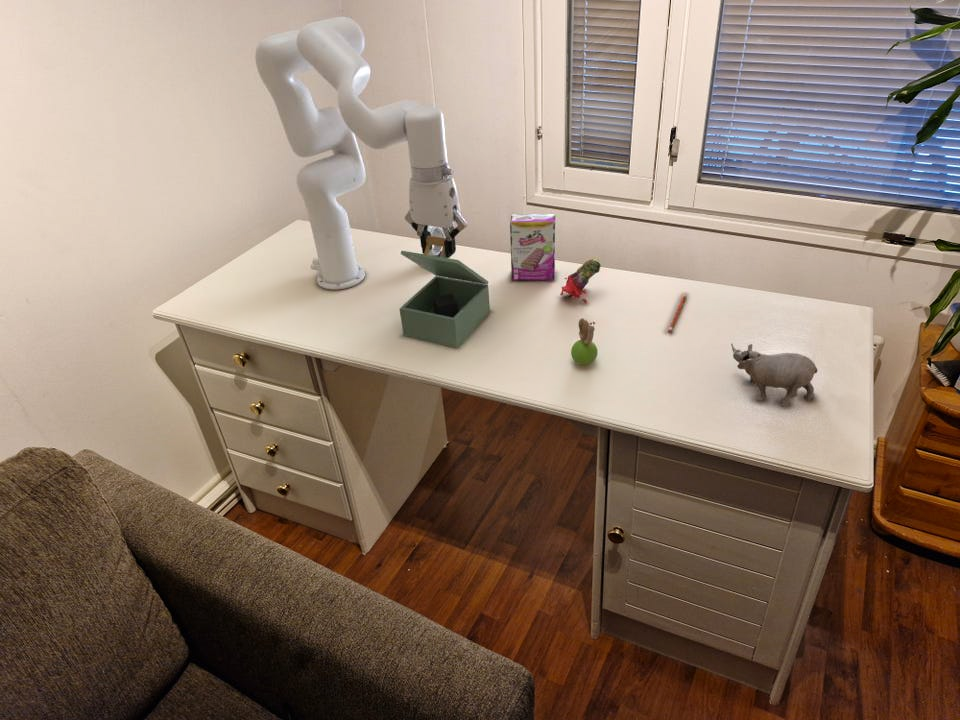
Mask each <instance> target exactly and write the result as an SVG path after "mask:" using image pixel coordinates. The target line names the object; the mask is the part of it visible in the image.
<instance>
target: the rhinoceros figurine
mask: <svg viewBox="0 0 960 720" xmlns="http://www.w3.org/2000/svg"><path fill="white" fill-rule="evenodd" d="M730 346H731V351H732V352H733V353H732V358H733V359H734V360H735V361H736V362H737V363H738V364H737V365H736V367H737V368H738V369H739V370H744V371H745V373H746V374H747V375H748V376H749V378H750V380H748V382H747V384H750V385H751V384H752V383H753V382H754V384H755V386H756V388H757V389H758V390H759V393H760V395H759V396H757V397H756V398H755V401H756V402H759V401H765V399H766V398H767V392H766V388H773V389H784V390H785V391H786V392H785V395H784V397H783V398H781V400H779V402H778V404H779V405H780V406H783V407H787V406H790V404H789V401H790V400H791V399H793V398H796V397H798V390H799V389H801V388H803V389H805V391H806V394H805V395H803V400H805V401H808V402H811V401H812V400H814V399H815V393H814V392H815V388H814V386H813V383H811V381H812V380H813V379H814V376H815V374H817V373H818V371H819V370H818V367H817V366H816V364H815V362H814V361H813V360H812V359H811V358H809V357H807V356H805V355H803V354H800V353H794V352H791V353H790V352H784V353H783V352H782V353H777V354H765V353H764V354H763V353H760V352H758V351H757V350H756V351H755V350H753V343H750V344H748V345H747V350H744V351H742V350H740V349H741V348H740V349H739V348H738V349H736V348H735V347H734V344H733V343H731V345H730Z"/></svg>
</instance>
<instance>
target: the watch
mask: <svg viewBox="0 0 960 720" xmlns="http://www.w3.org/2000/svg"><path fill="white" fill-rule="evenodd" d="M428 231H429V232H430V233H431V236H434V237H440V238H446V237H445V235H444V232H443V229H442V228H441V227H434V226H429V227H428ZM442 247H443V246H437V245H433V247H432V249H431V250H430V251H429V253H428V255H431V256H437V257H440V255H441V251H442ZM444 258H447V257H446V256H444Z"/></svg>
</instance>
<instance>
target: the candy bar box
mask: <svg viewBox="0 0 960 720" xmlns="http://www.w3.org/2000/svg"><path fill="white" fill-rule="evenodd" d="M509 234H510V239H509V240H510V268H511V270H510V271H511V273H510V274H511V281H512V282H513V281H514V282H515V281H516V282H517V281H519V282H520V281H524V282H525V281H530V282H531V281H555V278H556V277H555V276H556V213H539V214H538V213H536V214H535V213H534V214H533V213H532V214H531V213H530V214H529V213H528V214H526V213H525V214H519V213H518V214H510V219H509Z"/></svg>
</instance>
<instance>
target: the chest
mask: <svg viewBox="0 0 960 720" xmlns="http://www.w3.org/2000/svg"><path fill="white" fill-rule="evenodd" d="M450 294H452V295H453V297H454V298H455V300H456V301H457V304H458V313H457V314H456V315H455V316H454V318H452V317H447V316H442V315H438V314H435V309H434V300H433V298H436V297H441V296H445V295H450ZM490 305H491V303H490V287H489V284H488V285H486V284H480V283H475V282H469V281H464V280H458V279H453V278H447V277H442V276H436V275H434V277H433V278H432V279H430V280H429V281H428V282H427V283H426V284H425V285H424V286H422V287H421V288H420V289H419V290H418V291H417V292H416V293H415V294H414V295H413V296H412V297H410V298H409V300H407V301H406V302H404V304H403V305H402V306H400V308H399V314H400V320H401V327H402V334H403V337H407V338H411V339H416V340H420V341H425V342H428V343H433V344H437V345H442V346H447V347H451V348H455V349H458V348H459V347H460V346H461V345H462V344H463V343H464V342H465V340H466V339H467V338H469V336H470V335H471V334H472V333H473V332H474V330H475V329H476V328H478V326H479V325H480V324H481V323H482V322H483V321H484V319H485V318H487V316H488V315H489V314H490V313H491V306H490Z"/></svg>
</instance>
